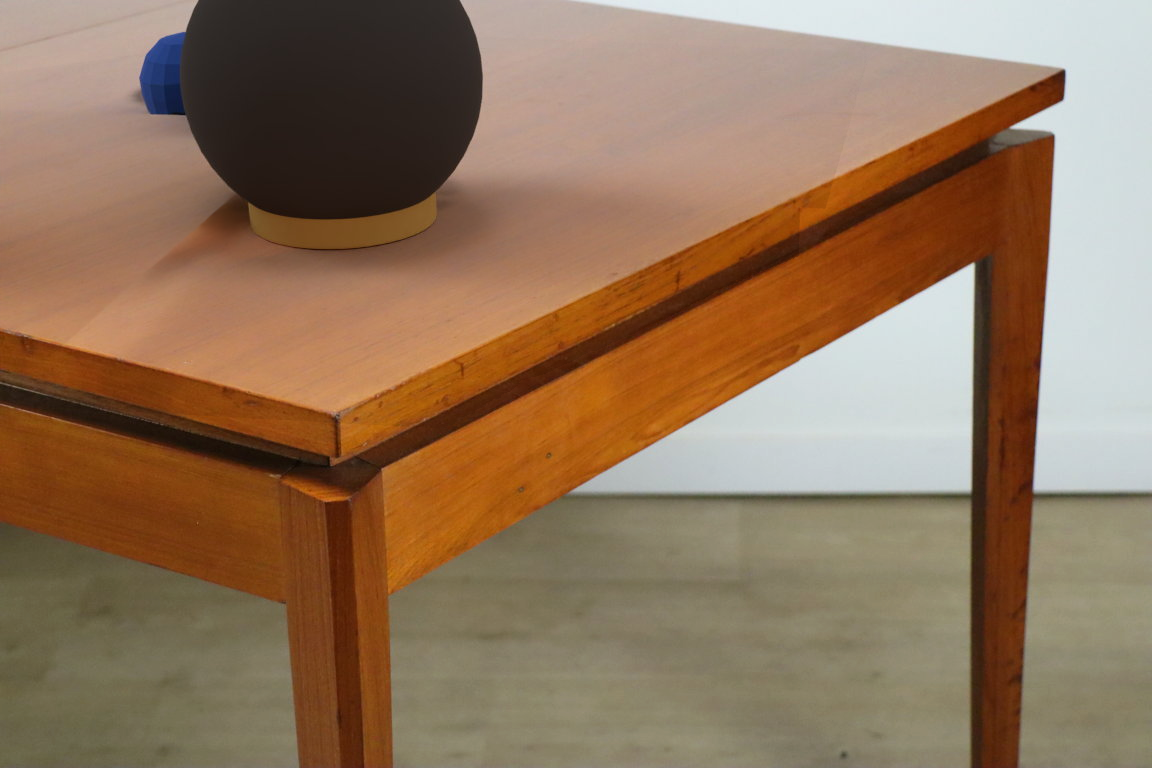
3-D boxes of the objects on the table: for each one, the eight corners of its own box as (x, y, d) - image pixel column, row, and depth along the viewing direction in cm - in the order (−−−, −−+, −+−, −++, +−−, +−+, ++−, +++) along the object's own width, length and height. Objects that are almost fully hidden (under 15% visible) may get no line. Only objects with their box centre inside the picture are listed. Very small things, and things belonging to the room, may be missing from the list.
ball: (151, 266, 69) (108, -60, 63) (254, 176, 81) (226, -102, 75) (454, 278, 67) (439, -56, 61) (511, 185, 79) (503, -100, 73)
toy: (330, 153, 86) (226, 92, 97) (324, 45, 83) (217, -6, 94) (217, 174, 83) (123, 107, 94) (206, 61, 80) (110, 6, 91)
